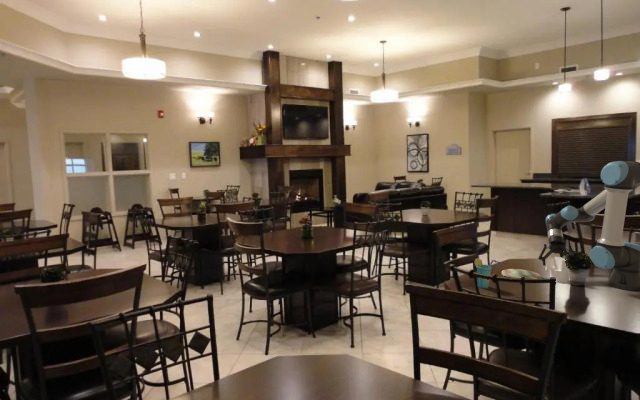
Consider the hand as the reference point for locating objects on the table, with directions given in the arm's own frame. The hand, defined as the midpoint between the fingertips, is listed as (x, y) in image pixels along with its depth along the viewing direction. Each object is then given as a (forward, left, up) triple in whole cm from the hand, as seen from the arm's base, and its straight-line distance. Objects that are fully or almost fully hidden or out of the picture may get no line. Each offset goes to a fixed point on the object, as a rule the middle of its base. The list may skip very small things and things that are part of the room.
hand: (560, 271), depth 235 cm
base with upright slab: (-1, -2, -5) cm, 6 cm away
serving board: (+17, -8, -5) cm, 20 cm away
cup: (+45, +13, -5) cm, 48 cm away
